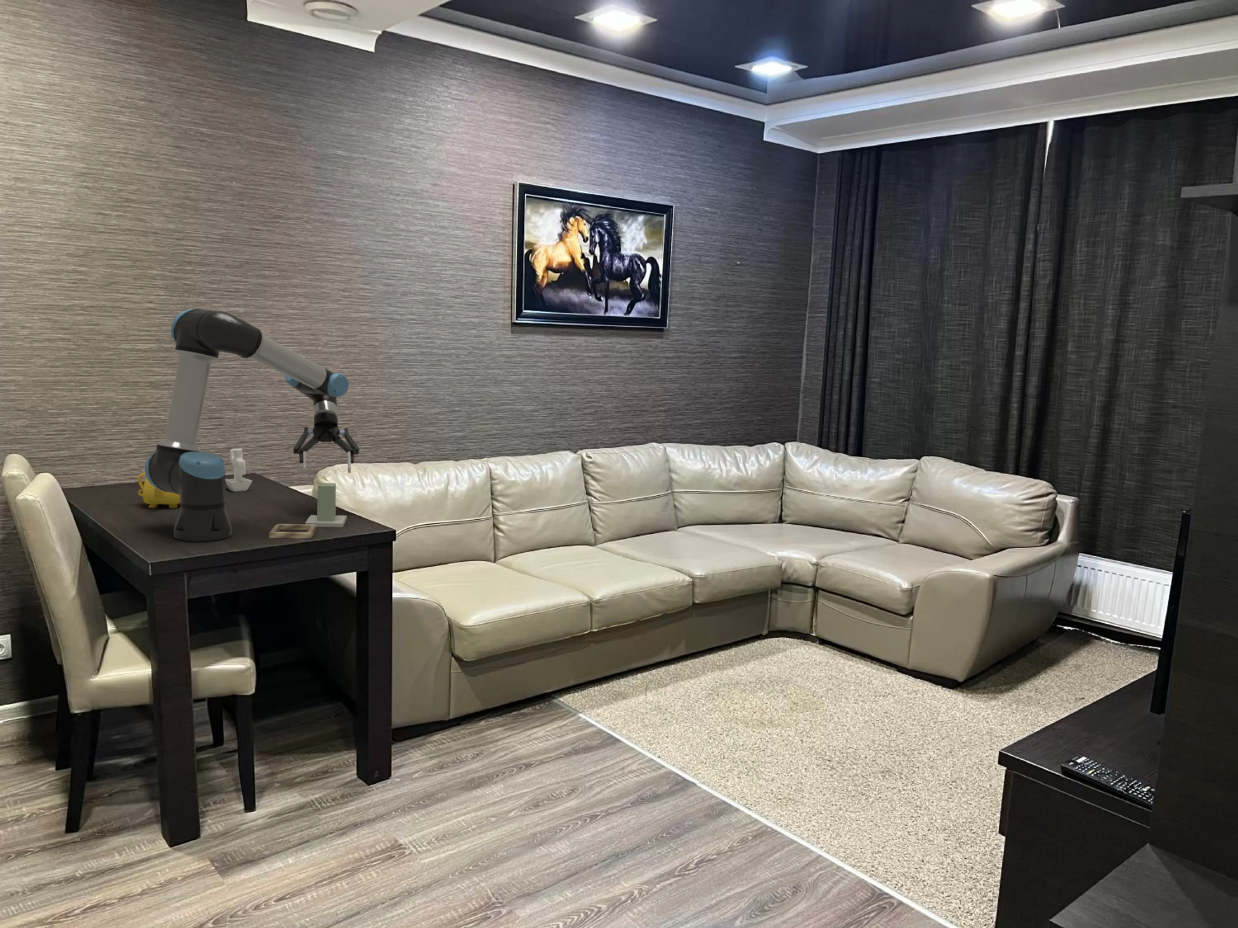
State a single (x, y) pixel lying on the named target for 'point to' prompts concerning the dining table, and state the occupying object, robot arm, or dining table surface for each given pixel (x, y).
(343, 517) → the grey mat
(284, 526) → the board
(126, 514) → the dining table surface
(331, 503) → the sage block
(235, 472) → the figurine
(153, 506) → the teapot
